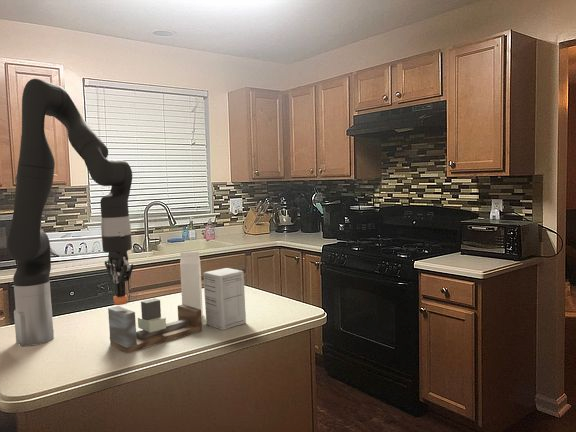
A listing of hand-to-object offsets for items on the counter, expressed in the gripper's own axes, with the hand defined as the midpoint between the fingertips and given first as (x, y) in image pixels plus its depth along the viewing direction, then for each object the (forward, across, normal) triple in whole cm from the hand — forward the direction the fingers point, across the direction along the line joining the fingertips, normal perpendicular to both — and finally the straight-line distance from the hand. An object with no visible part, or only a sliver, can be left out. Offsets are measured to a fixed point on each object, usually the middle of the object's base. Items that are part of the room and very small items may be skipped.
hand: (120, 296), depth 129 cm
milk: (+15, -9, +28) cm, 33 cm away
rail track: (+14, 0, +10) cm, 18 cm away
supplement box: (+15, +5, +31) cm, 35 cm away
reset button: (+2, 0, 0) cm, 2 cm away
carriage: (+11, 0, +9) cm, 14 cm away
